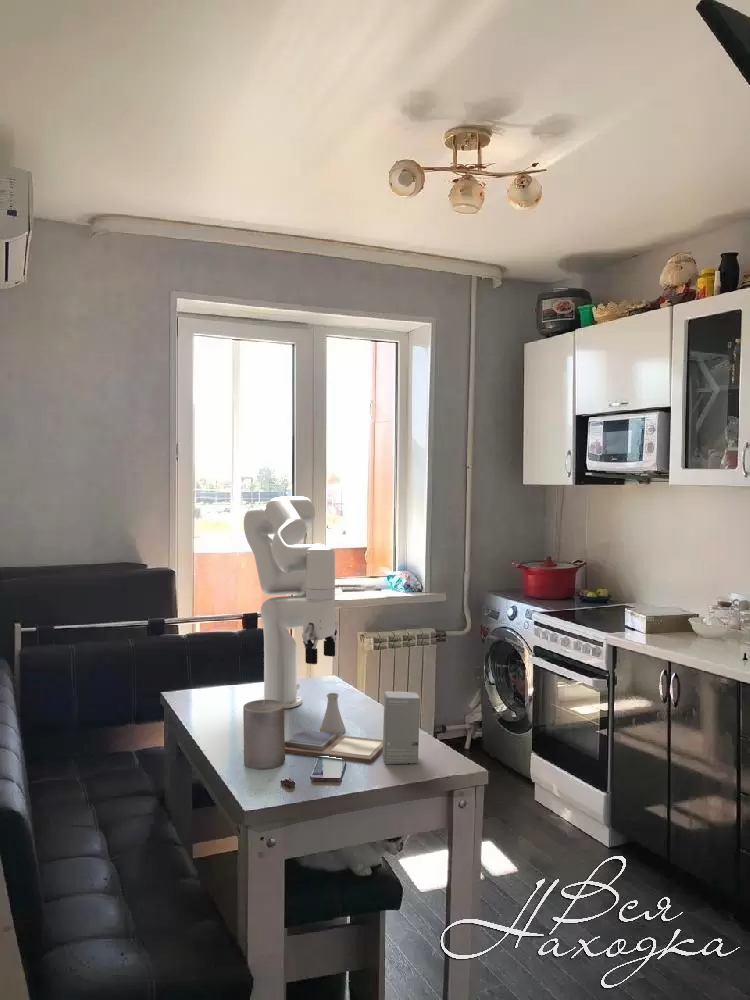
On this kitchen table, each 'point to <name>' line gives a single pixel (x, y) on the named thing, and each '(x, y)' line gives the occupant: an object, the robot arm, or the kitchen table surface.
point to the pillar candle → (264, 734)
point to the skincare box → (401, 727)
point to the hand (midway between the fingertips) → (320, 659)
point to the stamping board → (334, 746)
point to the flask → (332, 716)
